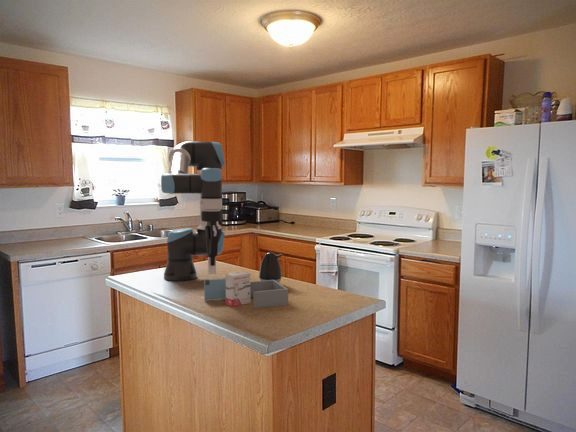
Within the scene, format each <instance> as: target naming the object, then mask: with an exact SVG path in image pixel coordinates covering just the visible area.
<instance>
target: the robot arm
mask: <svg viewBox="0 0 576 432" xmlns="http://www.w3.org/2000/svg"><path fill="white" fill-rule="evenodd" d="M168 162H169V167H168V173H163V174H162V175H161V178H160V183H161V184H160V185H161V186H160V187H161V192H162V193H164V194H170V195H173V194H198V195H199V194H200V195H199V205H200V206H199V208H200V209H199V210H200V211H199V214H200V217H199V219H200V220H199V222H200V223H199V225H198V226H197V227H196V231H194V230H193V228H191V227H187V228H178V229H174V230H171V231H169V232H168V233H167V238H166V239H167V240H166V243H167V263H166V267H165V271H164V273H163V279H164V280H166V281H172V282H184V281H190V280H194V279H196V278H197V273H198V272H197V270H196V267H195V264H194V259H193V256H206V257H207V274H208V275H216V274H217V257H218V255H221V254H222V253H223V250H224V244H225V234H226V233H225V231H224V230H222V226H221V225H220V224H219V222H221V221H223V211H222V210H223V198H222V197H223V196H222V195H223V192H222V191H223V174H222V173H223V172H222V171H223V170H222V168H225V166H226V165H225V155H224V149H223V145H222V144H221V142H219V141H218V142H217V141H197V140H195V141H191V140H190V141H189V140H188V141H183V142H181V143H178V144H177V145H175V146H174V147H173V148H172V149H171V150H170V152H169V154H168ZM189 167H196V172H198V173H189Z"/></svg>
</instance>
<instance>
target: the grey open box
mask: <svg viewBox="0 0 576 432" xmlns="http://www.w3.org/2000/svg"><path fill="white" fill-rule="evenodd" d="M251 297H253V301H252V303H253V308H254V309H260V308H268V307H277V306H278V307H280V306H286V305H287V306H288V305H289V288H287V287H286V286H284V285H283V284H282V283H280V282H279V283H278V282H277V281H275V280H264V281H260V280H254V281H250V298H251Z"/></svg>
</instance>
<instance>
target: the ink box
mask: <svg viewBox="0 0 576 432" xmlns="http://www.w3.org/2000/svg"><path fill="white" fill-rule="evenodd" d="M251 274H252V273H249V272H248V271H246V270H245V271H244V270H240V271H234V272H227V273H226V274H225V278H226V299H225V304H226V305H227V306H229V307H233V308H234V307H236V306H237V307H238V306H241V305H245V304H251V297H250V282H251Z"/></svg>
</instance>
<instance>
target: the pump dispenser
mask: <svg viewBox="0 0 576 432" xmlns="http://www.w3.org/2000/svg"><path fill="white" fill-rule="evenodd" d="M281 257H283V254H282V253H279V254H276V253H275V252H273V251H269V252H266V253H265V254H264V256H263V258H262V260H261V262H260V267H259V271H258V278H259V281H264V280H275V281H277V282H278V283H280V282H281V280H282V277H283V276H282V275H283V274H282V268H281V267H282V266H281V262H280V261H279V258H281Z"/></svg>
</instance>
